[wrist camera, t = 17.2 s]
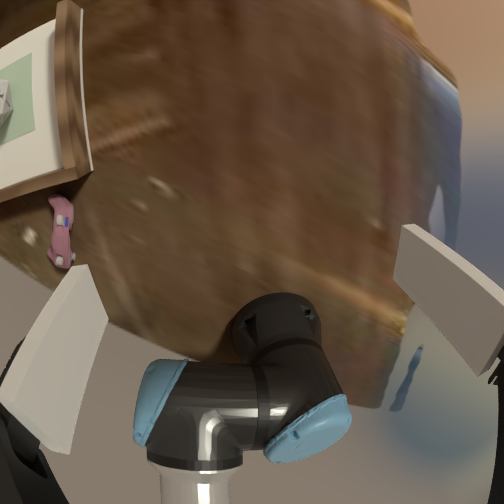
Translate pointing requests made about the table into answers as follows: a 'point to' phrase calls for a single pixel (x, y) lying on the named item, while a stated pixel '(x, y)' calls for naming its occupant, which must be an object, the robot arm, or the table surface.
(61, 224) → the video game controller
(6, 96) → the die
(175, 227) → the table surface
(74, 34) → the wooden corner tray
